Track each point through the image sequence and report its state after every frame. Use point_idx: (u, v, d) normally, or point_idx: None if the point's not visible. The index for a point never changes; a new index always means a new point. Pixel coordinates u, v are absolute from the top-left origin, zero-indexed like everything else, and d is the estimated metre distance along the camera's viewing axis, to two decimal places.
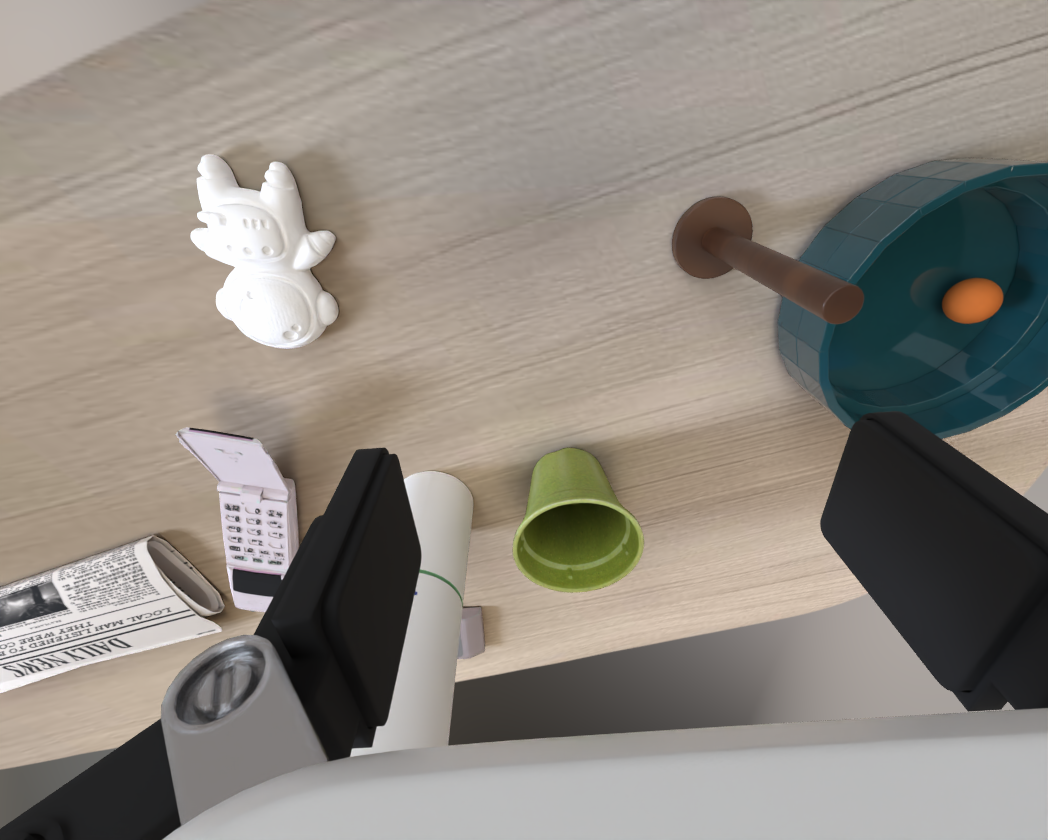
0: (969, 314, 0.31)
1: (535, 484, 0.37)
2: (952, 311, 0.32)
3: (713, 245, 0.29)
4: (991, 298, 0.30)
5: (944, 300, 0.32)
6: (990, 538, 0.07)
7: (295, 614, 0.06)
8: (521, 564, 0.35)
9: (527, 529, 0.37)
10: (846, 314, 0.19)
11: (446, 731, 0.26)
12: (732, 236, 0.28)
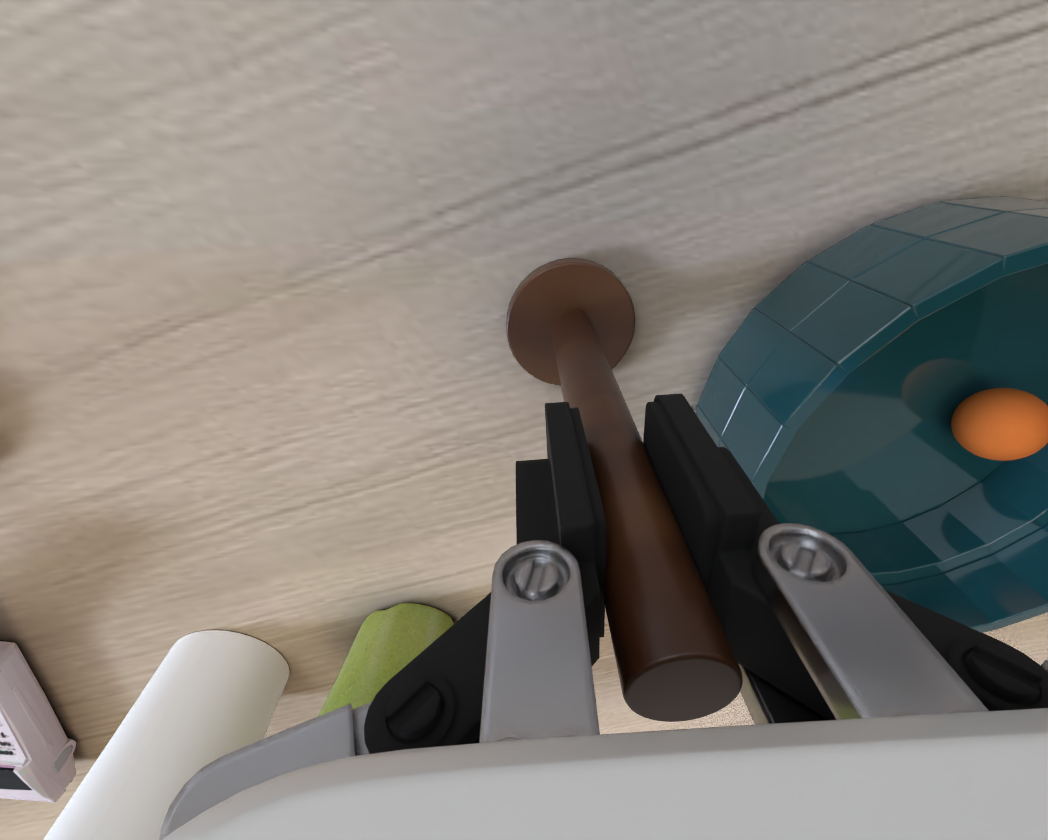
0: (997, 450, 0.19)
1: (340, 673, 0.25)
2: (968, 441, 0.19)
3: (554, 348, 0.16)
4: (1036, 429, 0.18)
5: (955, 421, 0.20)
6: (691, 495, 0.08)
7: (577, 522, 0.07)
8: None
9: None
10: (695, 707, 0.07)
11: None
12: (575, 340, 0.15)
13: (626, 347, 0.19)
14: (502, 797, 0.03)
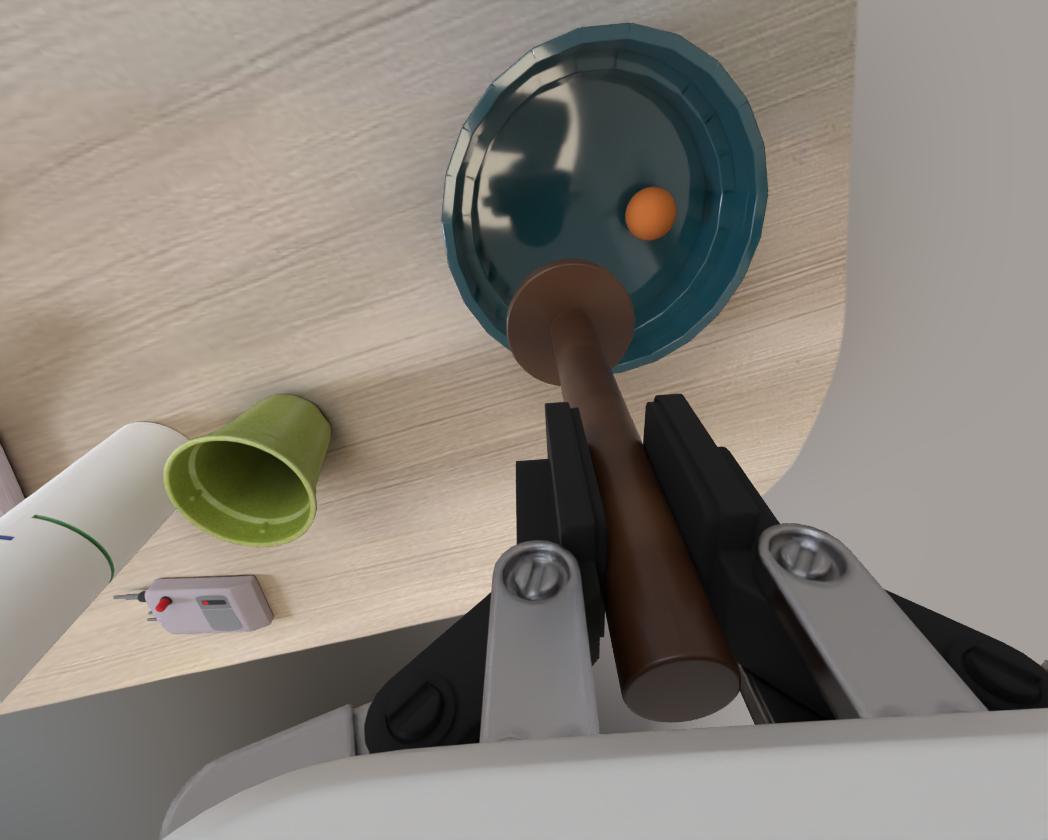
0: (641, 227, 0.28)
1: None
2: (629, 225, 0.29)
3: (554, 349, 0.17)
4: (655, 206, 0.27)
5: (625, 215, 0.29)
6: (690, 495, 0.08)
7: (577, 522, 0.07)
8: (189, 514, 0.32)
9: (216, 479, 0.34)
10: (694, 708, 0.07)
11: None
12: (574, 341, 0.15)
13: (626, 348, 0.19)
14: (502, 797, 0.03)
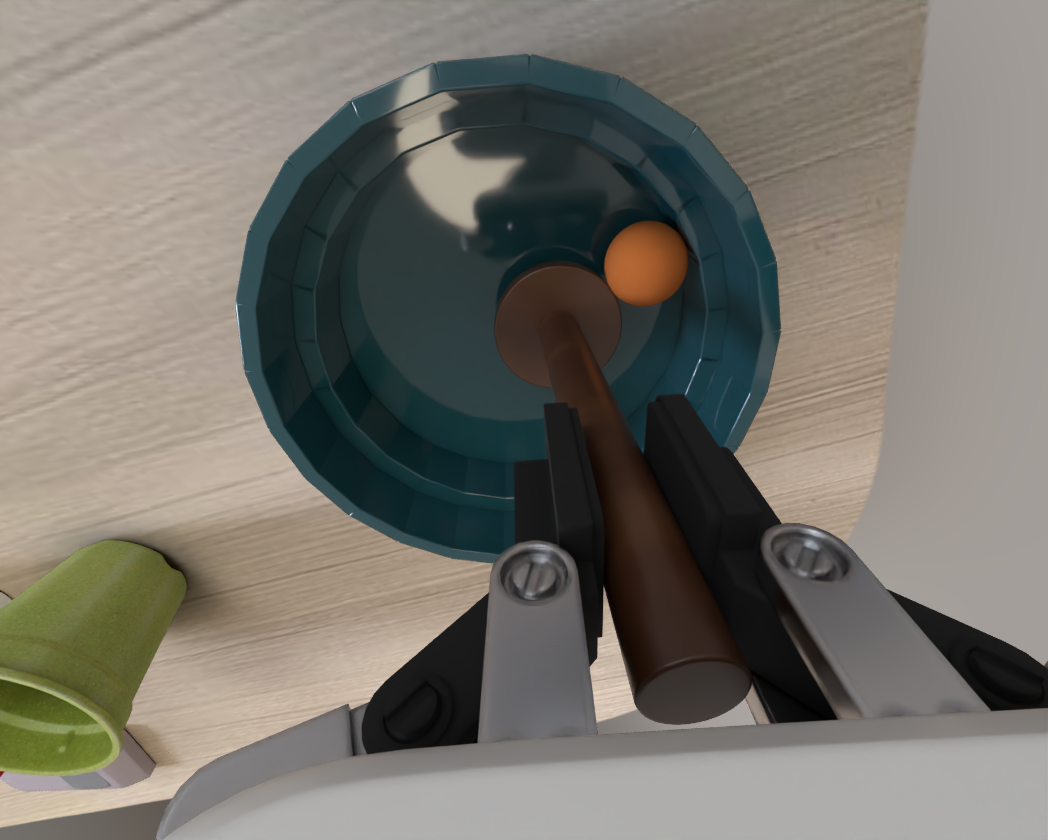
0: None
1: None
2: (667, 245, 0.16)
3: (543, 350, 0.16)
4: None
5: (639, 246, 0.16)
6: (692, 495, 0.08)
7: (575, 522, 0.07)
8: None
9: None
10: (704, 709, 0.07)
11: None
12: (565, 343, 0.15)
13: (613, 349, 0.19)
14: (502, 797, 0.03)
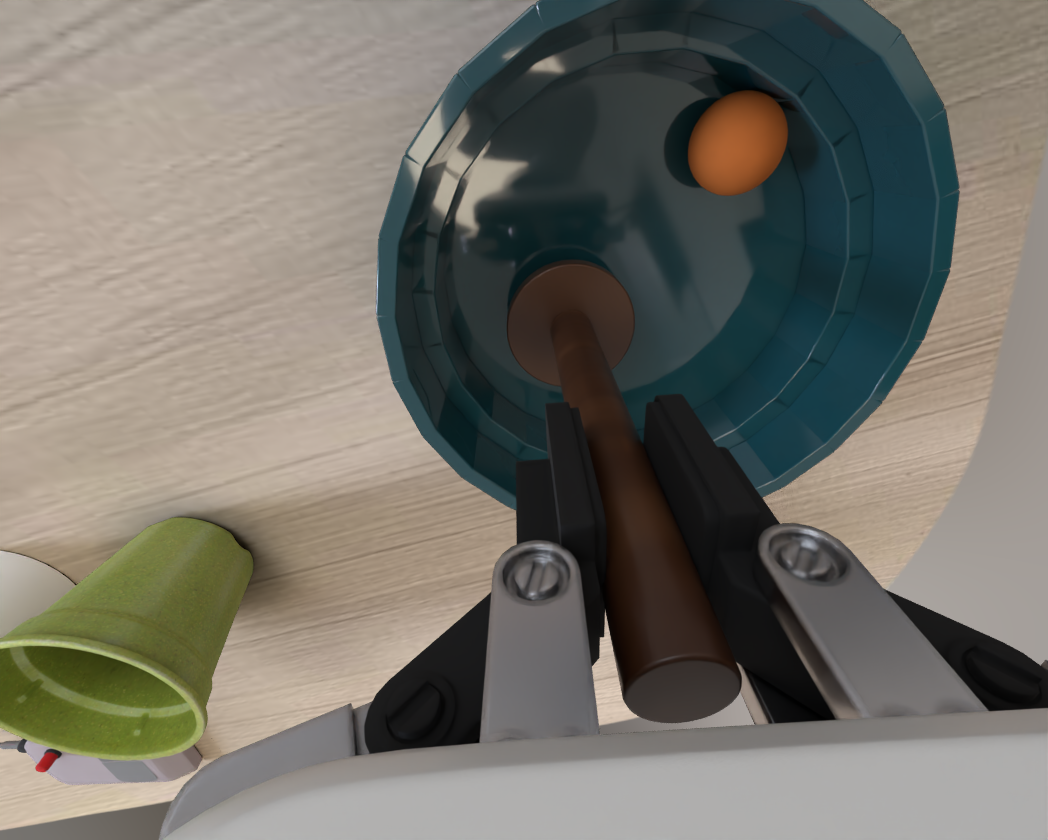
0: (768, 123, 0.14)
1: None
2: (751, 99, 0.14)
3: (554, 348, 0.16)
4: None
5: (734, 92, 0.15)
6: (690, 495, 0.08)
7: (577, 522, 0.07)
8: (15, 725, 0.21)
9: (70, 655, 0.23)
10: (693, 709, 0.07)
11: None
12: (576, 341, 0.15)
13: (625, 351, 0.19)
14: (502, 797, 0.03)
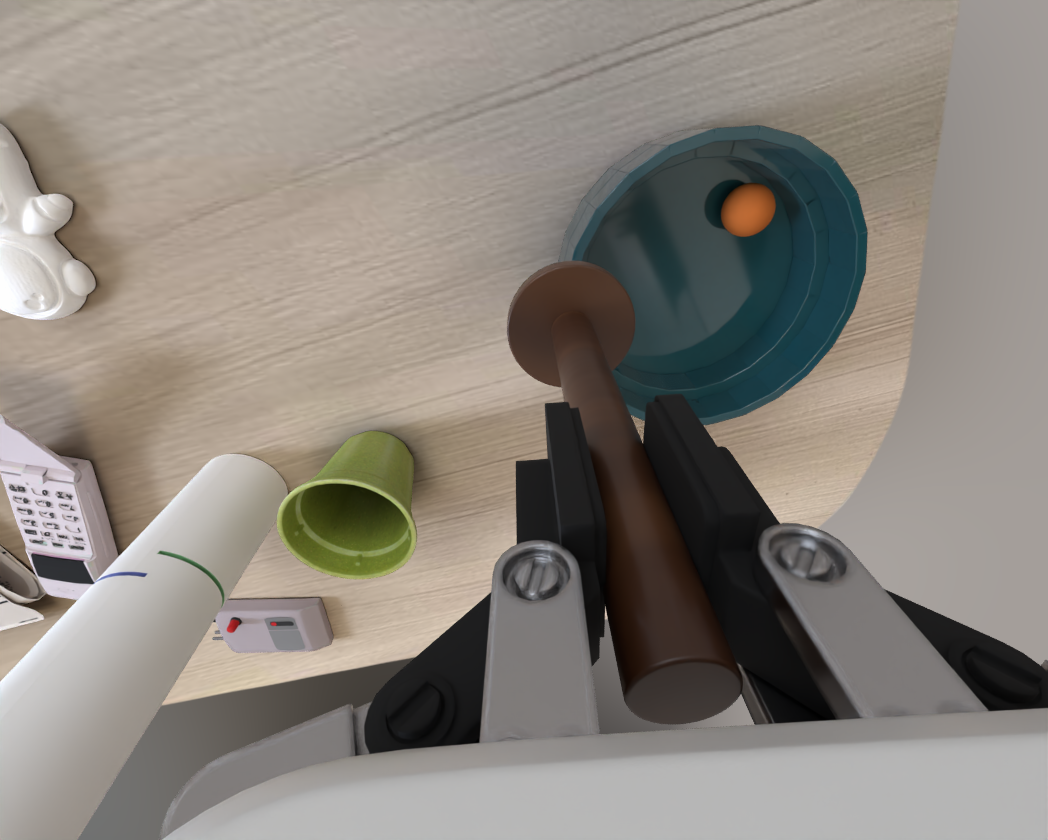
0: (760, 210, 0.27)
1: None
2: (754, 195, 0.27)
3: (555, 349, 0.17)
4: (772, 216, 0.28)
5: (749, 184, 0.28)
6: (690, 495, 0.08)
7: (577, 522, 0.07)
8: (294, 548, 0.33)
9: (314, 513, 0.36)
10: (694, 710, 0.07)
11: (127, 718, 0.24)
12: (577, 342, 0.15)
13: (625, 352, 0.19)
14: (502, 797, 0.03)
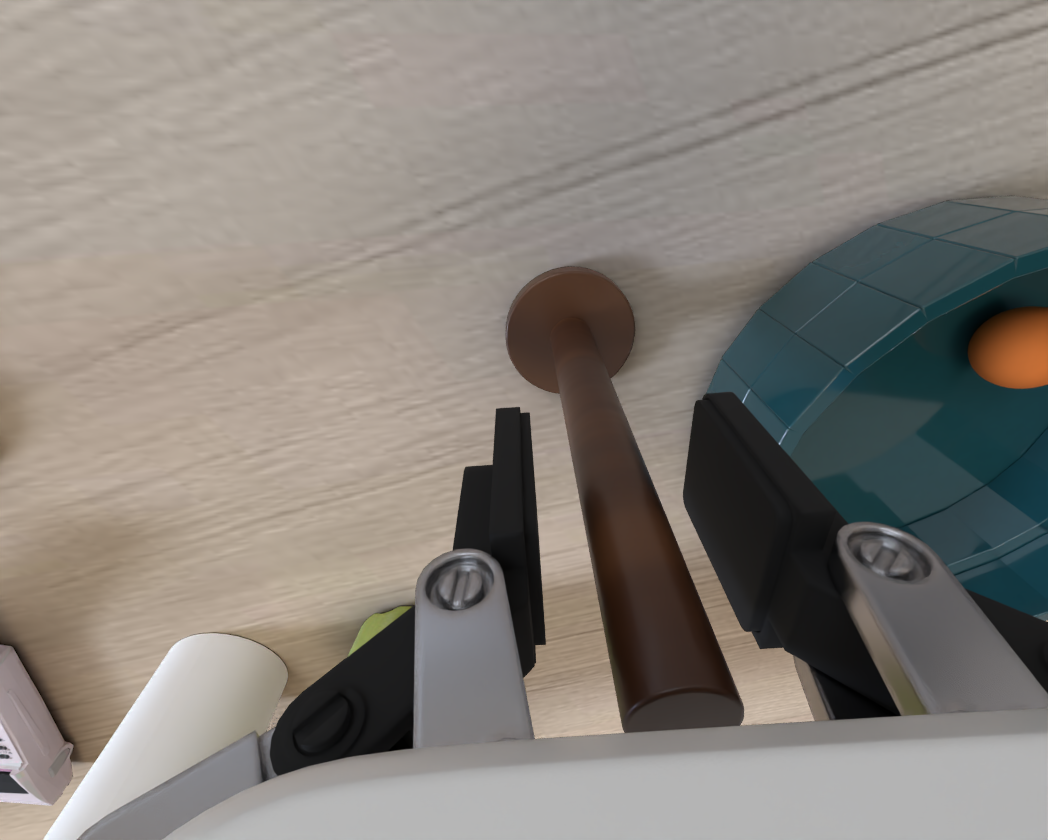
0: (1041, 375, 0.17)
1: None
2: (1043, 354, 0.16)
3: (554, 357, 0.16)
4: None
5: (1047, 326, 0.16)
6: (757, 494, 0.08)
7: (506, 530, 0.07)
8: None
9: None
10: None
11: None
12: (575, 350, 0.15)
13: (625, 358, 0.19)
14: (502, 797, 0.03)
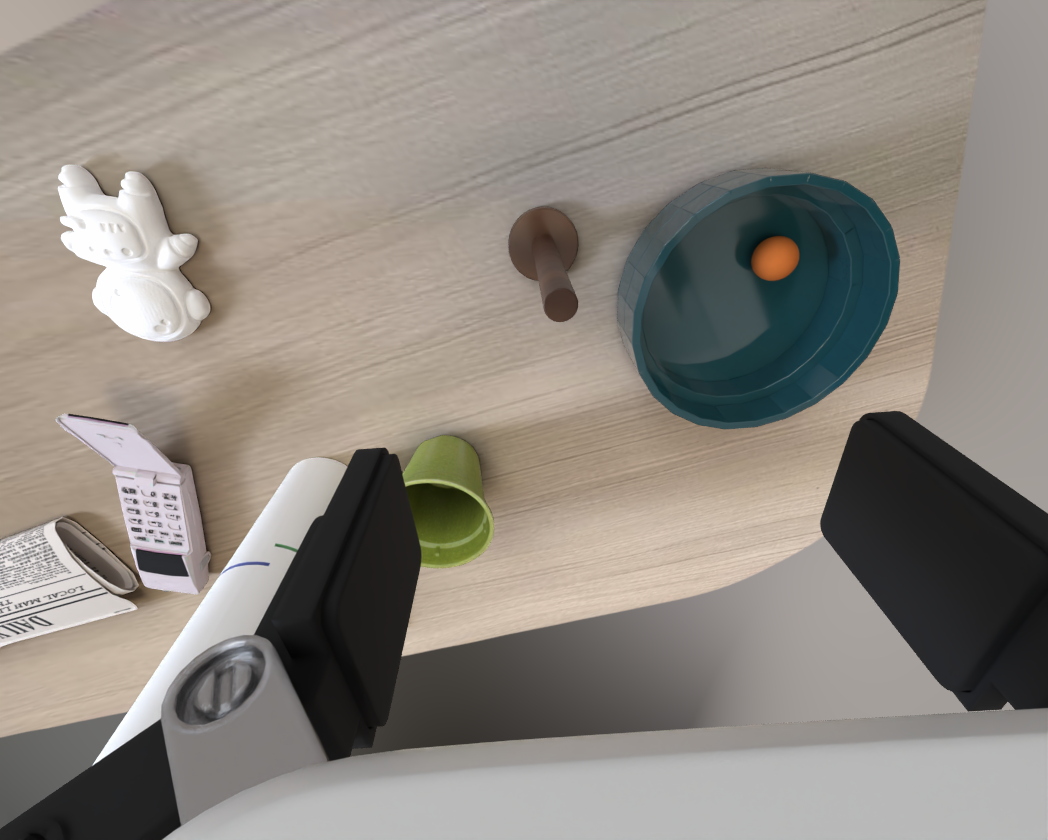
0: (769, 275, 0.33)
1: None
2: (767, 265, 0.32)
3: (533, 250, 0.32)
4: (787, 275, 0.33)
5: (773, 250, 0.32)
6: (990, 538, 0.07)
7: (295, 614, 0.06)
8: None
9: None
10: (565, 313, 0.22)
11: None
12: (543, 243, 0.31)
13: (573, 258, 0.34)
14: (502, 797, 0.03)
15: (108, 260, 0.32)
